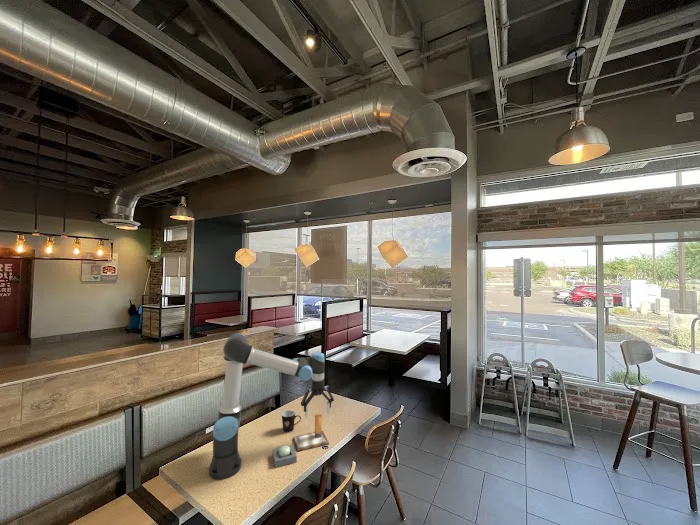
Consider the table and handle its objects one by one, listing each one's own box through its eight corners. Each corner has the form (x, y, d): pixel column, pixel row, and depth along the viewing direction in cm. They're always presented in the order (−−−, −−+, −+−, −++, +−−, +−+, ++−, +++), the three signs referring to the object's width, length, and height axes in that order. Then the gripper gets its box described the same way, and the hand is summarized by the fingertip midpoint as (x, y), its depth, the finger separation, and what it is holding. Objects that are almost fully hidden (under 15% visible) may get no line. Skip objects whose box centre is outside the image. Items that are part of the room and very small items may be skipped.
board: (298, 451, 159) (298, 448, 160) (293, 438, 172) (293, 435, 173) (329, 444, 166) (329, 441, 166) (322, 432, 179) (322, 429, 179)
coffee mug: (278, 431, 181) (278, 414, 181) (287, 424, 188) (287, 409, 189) (293, 435, 175) (293, 419, 176) (301, 429, 183) (301, 413, 183)
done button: (279, 459, 150) (279, 453, 150) (277, 452, 155) (277, 447, 156) (291, 456, 152) (291, 450, 152) (289, 450, 158) (289, 444, 158)
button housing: (275, 467, 147) (275, 461, 147) (272, 455, 157) (272, 449, 157) (296, 462, 151) (296, 456, 151) (292, 450, 161) (292, 444, 161)
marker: (315, 438, 170) (315, 417, 171) (313, 434, 174) (313, 414, 174) (322, 436, 172) (322, 416, 172) (320, 433, 176) (320, 413, 176)
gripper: (298, 384, 166) (298, 421, 165) (339, 378, 176) (339, 414, 175) (296, 379, 173) (295, 415, 172) (335, 374, 183) (335, 408, 182)
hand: (317, 415), depth 173 cm, fingers open, 13 cm apart
